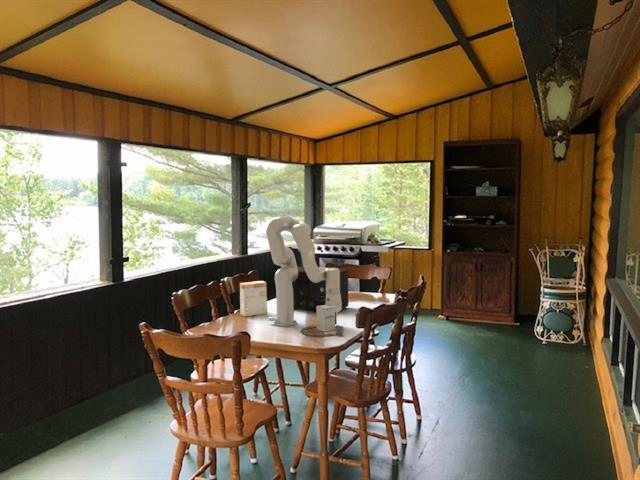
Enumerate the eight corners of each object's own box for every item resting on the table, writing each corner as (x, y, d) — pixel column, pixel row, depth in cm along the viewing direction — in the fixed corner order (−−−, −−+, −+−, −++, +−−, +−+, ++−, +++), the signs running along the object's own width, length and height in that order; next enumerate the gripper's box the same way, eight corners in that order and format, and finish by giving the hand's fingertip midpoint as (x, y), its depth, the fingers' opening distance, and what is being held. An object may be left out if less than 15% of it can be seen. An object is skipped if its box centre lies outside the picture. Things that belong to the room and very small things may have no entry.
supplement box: (324, 332, 282) (324, 308, 281) (316, 329, 288) (315, 306, 287) (335, 329, 287) (335, 306, 286) (327, 327, 293) (327, 304, 292)
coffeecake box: (263, 311, 335) (262, 280, 334) (267, 313, 329) (266, 282, 327) (240, 314, 328) (239, 282, 327) (244, 316, 322) (243, 284, 320)
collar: (326, 340, 266) (326, 330, 265) (292, 331, 285) (292, 321, 284) (357, 332, 281) (356, 322, 280) (322, 324, 300) (322, 315, 299)
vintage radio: (282, 310, 339) (281, 270, 338) (294, 304, 358) (294, 266, 356) (339, 314, 326) (338, 272, 324) (349, 307, 344) (348, 268, 342)
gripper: (331, 293, 284) (332, 328, 285) (345, 289, 296) (346, 322, 298) (319, 292, 288) (320, 326, 289) (334, 288, 300) (334, 320, 302)
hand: (333, 324), depth 294 cm, fingers closed
